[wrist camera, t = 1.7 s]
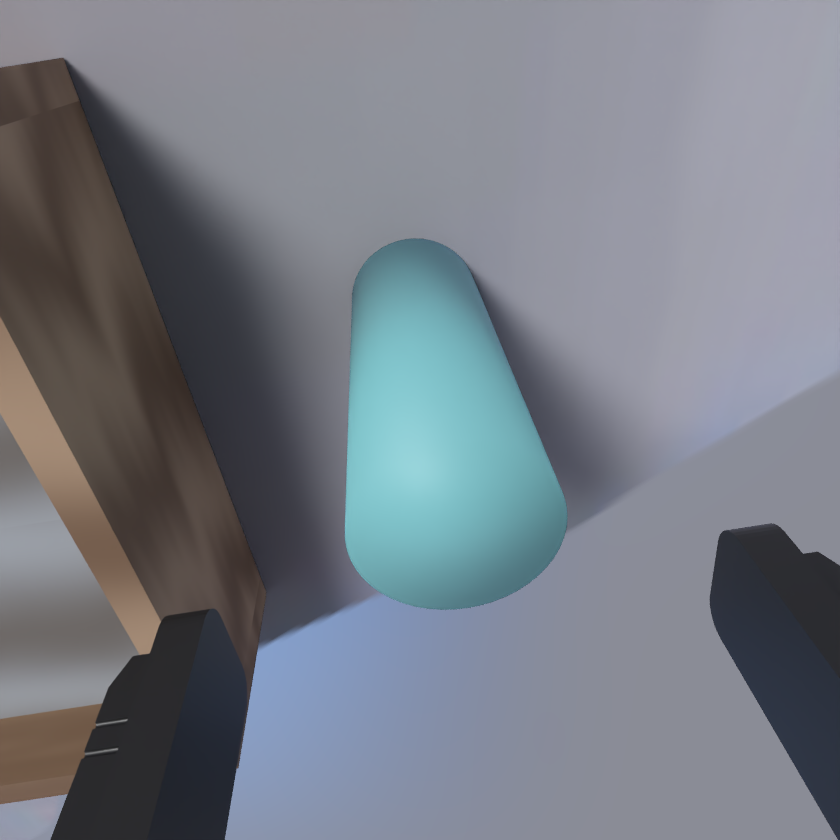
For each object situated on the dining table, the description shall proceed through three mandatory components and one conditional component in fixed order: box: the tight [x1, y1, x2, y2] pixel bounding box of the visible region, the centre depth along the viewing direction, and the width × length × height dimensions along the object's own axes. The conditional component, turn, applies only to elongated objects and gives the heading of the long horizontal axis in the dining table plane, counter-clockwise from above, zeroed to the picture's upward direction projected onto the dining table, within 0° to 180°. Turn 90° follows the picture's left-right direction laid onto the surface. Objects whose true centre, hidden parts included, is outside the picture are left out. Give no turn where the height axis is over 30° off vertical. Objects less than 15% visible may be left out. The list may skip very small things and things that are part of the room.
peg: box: [345, 239, 567, 610], centre depth 16 cm, size 4×4×11 cm
